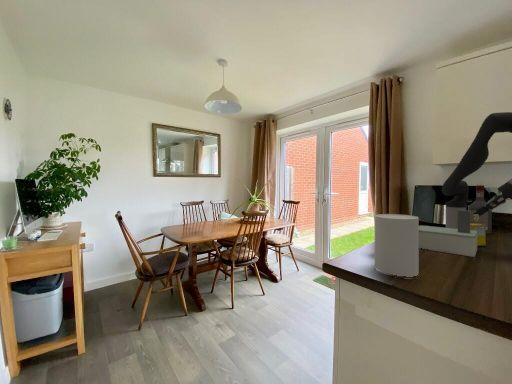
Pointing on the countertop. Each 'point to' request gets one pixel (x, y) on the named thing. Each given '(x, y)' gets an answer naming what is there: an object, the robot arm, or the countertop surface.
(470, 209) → the liquor
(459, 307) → the countertop surface
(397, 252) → the canister
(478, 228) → the supplement box
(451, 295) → the countertop surface
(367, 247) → the countertop surface
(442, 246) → the carton
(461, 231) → the carton lid
